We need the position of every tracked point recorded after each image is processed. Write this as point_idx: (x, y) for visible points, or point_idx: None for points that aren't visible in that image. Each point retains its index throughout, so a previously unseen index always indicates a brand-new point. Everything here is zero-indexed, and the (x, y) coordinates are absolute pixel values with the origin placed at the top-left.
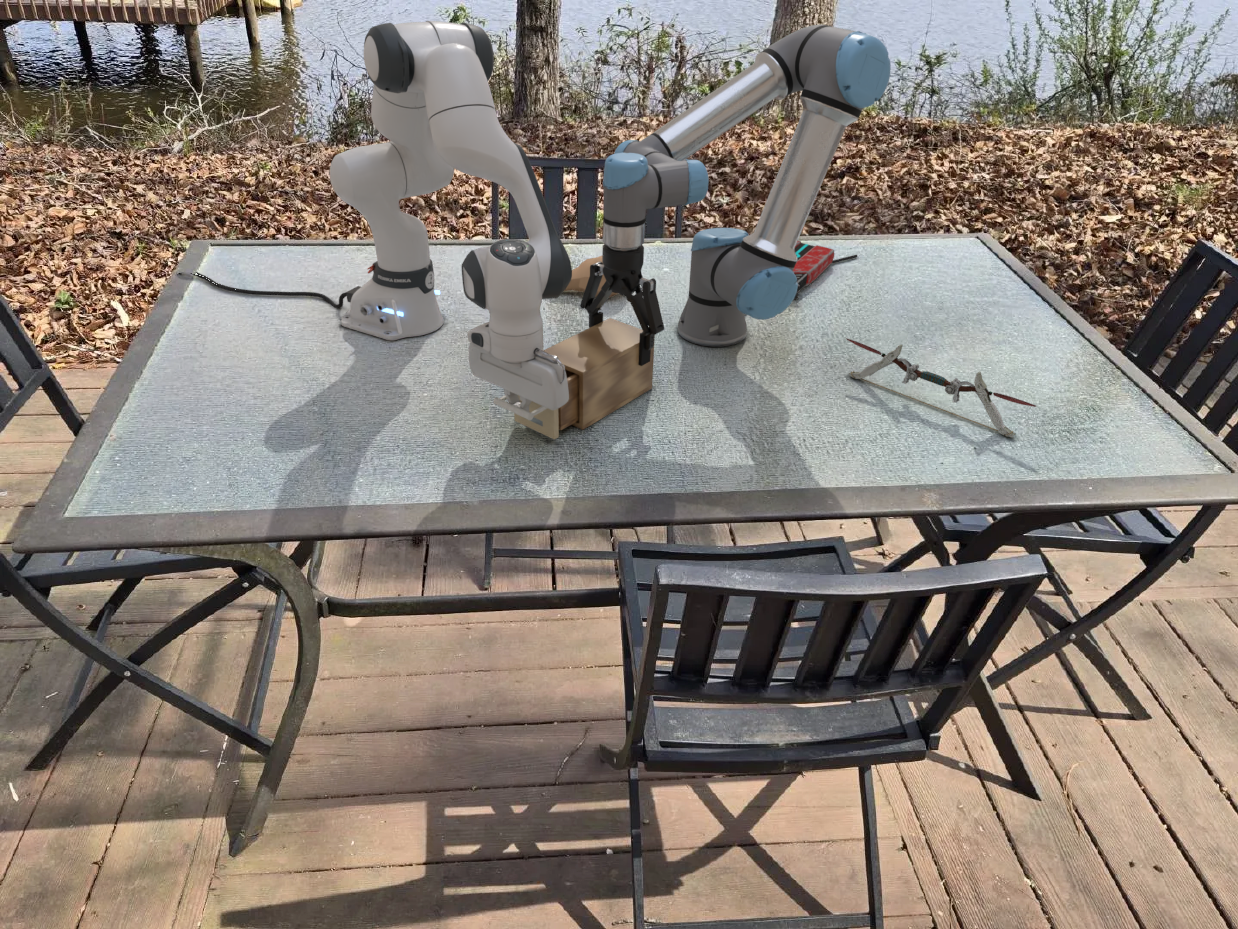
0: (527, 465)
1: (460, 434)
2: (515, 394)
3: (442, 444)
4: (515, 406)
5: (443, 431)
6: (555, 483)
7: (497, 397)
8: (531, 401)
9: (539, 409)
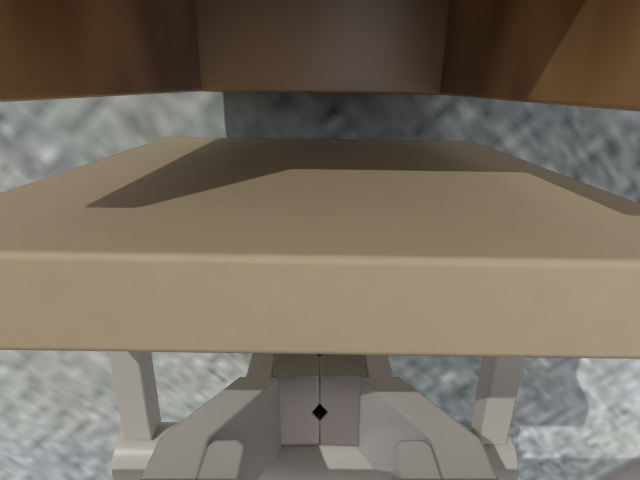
0: (460, 361)
1: (77, 370)
2: (237, 431)
3: (96, 450)
4: (340, 476)
5: (11, 394)
6: (628, 380)
7: (117, 460)
8: (438, 412)
9: (515, 374)
